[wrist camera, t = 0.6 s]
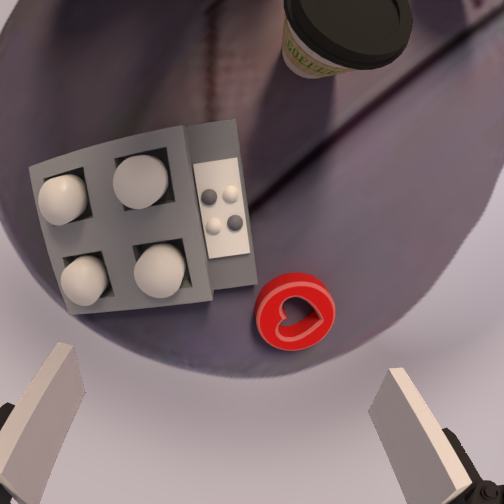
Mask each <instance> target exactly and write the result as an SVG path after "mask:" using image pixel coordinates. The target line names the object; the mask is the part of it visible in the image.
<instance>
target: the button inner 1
mask: <svg viewBox="0 0 504 504" xmlns="http://www.w3.org/2000/svg"><path fill="white" fill-rule="evenodd" d="M88 202H89V195H88V190H87V186H86V184H85V182H84V181H83V180H82V179H81V178H80V177H78V176H76V175H73V174H67V175H63V176H59V177H55V178H52V179H49V180H48V181H46V182H45V183H44V184H43V186H42V187H41V189H40V192H39V197H38V204H39V209H40V212H41V214H42V215H43V217H44V218H45V219H46V220H47V221H48V222H49V223H51V224H53V225H57V226H60V225H64V224H66V223H68V222H70V221H72V220H73V219H75V218H77V217H79V216H80V215H82V214H83V213H84V211H85V210H86V208H87V206H88Z"/></svg>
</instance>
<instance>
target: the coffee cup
mask: <svg viewBox="0 0 504 504" xmlns="http://www.w3.org/2000/svg"><path fill="white" fill-rule="evenodd" d="M284 10H285V19H284V28H283V37H282V45H283V47H282V55H283V59H284V61H285V63H286V65H287V66H288V68H289V69H290V70H291V71H292V72H294V73H295V74H297V75H299V76H301V77H304V78H309V79H317V78H321V77H329V76H333V75H337V74H341V73H345V72H349V71H353V70H372V69H376V68H381V67H384V66H386V65H388V64H390V63H392V62H393V61H394V60H395V59H396V58H398V57H399V56H400V55H401V54H402V52H403V51H404V49H405V48H406V46H407V44H408V41H409V38H410V34H411V31H412V23H413V19H412V12H411V9H410V6H409V3H408V1H407V0H284Z"/></svg>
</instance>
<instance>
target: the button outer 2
mask: <svg viewBox="0 0 504 504" xmlns="http://www.w3.org/2000/svg"><path fill="white" fill-rule="evenodd" d="M185 270H186V261H185V258H184V255H183V254H182V252H181V251H180V250H179V249H178V248H177V247H175V246H174V245H172V244H169V243H165V242H160V243H155V244H153V245H151V246H149V247H148V248H147V249H146V250H145V252H144V253H143V254H142V256H141V257H140V258H139V260H138V261H137V263H136V265H135V268H134V278H135V281H136V283H137V285H138V287H139V288H140V289H141V290H142V291H143V292H144V293H146V294H147V295H149V296H151V297H155V298H166V297H169V296H171V295H173V294H174V293H175V292H176V291H177V290H178V289H179V287H180V285H181V282H182V279H183V276H184V274H185Z"/></svg>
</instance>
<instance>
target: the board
mask: <svg viewBox="0 0 504 504" xmlns="http://www.w3.org/2000/svg"><path fill="white" fill-rule="evenodd" d="M140 155H152V156H155V157H157V158H159V159H160V160H162V161H163V162H164V164H165V165H166V167H167V169H168V171H169V177H170V180H169V186H168V189H167V191H166V192H165V194H164V195H163V196H162V197H161V198H160V199H158V200H157V201H156V202H154V203H153V204H152V205H150V206H149V207H146V208H143V209H133V208H129V207H127V206H125V205H124V204H123V203H121V202H120V201H119V199H118V198H117V196H116V194H115V192H114V188H113V177H114V173H115V171H116V169H117V167H118V166H119V165H120V164H121V163H122V162H123V161H124V160H126V159H128V158H130V157H134V156H140ZM29 172H30V178H31V183H32V188H33V193H34V198H35V203H36V208H37V212H38V216H39V220H40V224H41V228H42V232H43V236H44V240H45V243H46V247H47V250H48V254H49V257H50V260H51V264H52V267H53V270H54V273H55V276H56V279H57V282H58V285H59V288H60V291H61V294H62V296H63V299H64V302H65V305H66V307H67V310H68V312H69V315H76V314H88V313H100V312H111V311H122V310H132V309H142V308H152V307H161V306H170V305H179V304H187V303H196V302H204V301H212V300H213V294H214V290H218V289H225V288H233V287H240V286H247V285H255V284H258V280H257V272H256V265H255V257H254V250H253V242H252V235H251V227H250V220H249V212H248V205H247V197H246V190H245V182H244V175H243V167H242V160H241V152H240V145H239V138H238V130H237V123H236V119H229V120H222V121H215V122H208V123H202V124H196V125H191V126H184V125H179V126H174V127H169V128H164V129H159V130H154V131H150V132H145V133H141V134H137V135H132V136H128V137H124V138H120V139H116V140H112V141H109V142H105V143H101V144H98V145H94V146H91V147H87V148H84V149H81V150H77V151H74V152H71V153H68V154H65V155H62V156H58V157H55V158H52V159H50V160H47V161H44V162H41V163H38V164H35V165H33V166H30V167H29ZM67 174H73V175H76V176H78V177H80V178H81V179H82V180H83V181H84V182H85V184H86V186H87V190H88V195H89V202H88V206H87V208H86V210H85V211H84V213H83V214H82V215H80V216H79V217H77V218H75V219H73V220H72V221H70V222H68V223H66V224H64V225H60V226H57V225H53V224H51V223H49V222H48V221H47V220H46V219H45V218H44V217H43V215H42V214H41V212H40V209H39V204H38V197H39V192H40V189H41V187H42V186H43V184H44V183H45V182H46V181H48V180H49V179H52V178H55V177H59V176H63V175H67ZM160 242H165V243H169V244H172V245H174V246H175V247H177V248H178V249H179V250H180V251H181V252H182V254H183V255H184V258H185V261H186V270H185V274H184V276H183V279H182V282H181V285H180V287H179V289H178V290H177V291H176V292H175V293H174V294H173V295H171V296H169V297H166V298H155V297H151V296H149V295H147V294H146V293H144V292H143V291H142V290H141V289H140V288H139V287H138V285H137V283H136V281H135V278H134V268H135V265H136V263H137V261H138V260H139V258H140V257H141V256H142V254H143V253H144V252H145V250H146V249H147V248H148V247H149V246H151V245H153V244H155V243H160ZM85 254H89V255H93V256H95V257H97V258H99V259H100V260H101V261H102V262H103V263H104V265H105V266H106V268H107V271H108V275H109V283H108V286H107V287H106V289H105V290H104V291H103V293H102V294H101V295H100V297H99V298H98V299H97V300H96V302H95V303H93V304H92V305H89V306H80V305H77V304H75V303H74V302H72V301H71V300H70V299H69V298H68V297H67V296H66V295H65V293H64V291H63V289H62V286H61V275H62V272H63V270H64V269H65V268H66V267H67V266H68V265H70V264H71V263H72V262H73V261H74V260H75V259H77V258H78V257H79V256H81V255H85Z"/></svg>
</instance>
